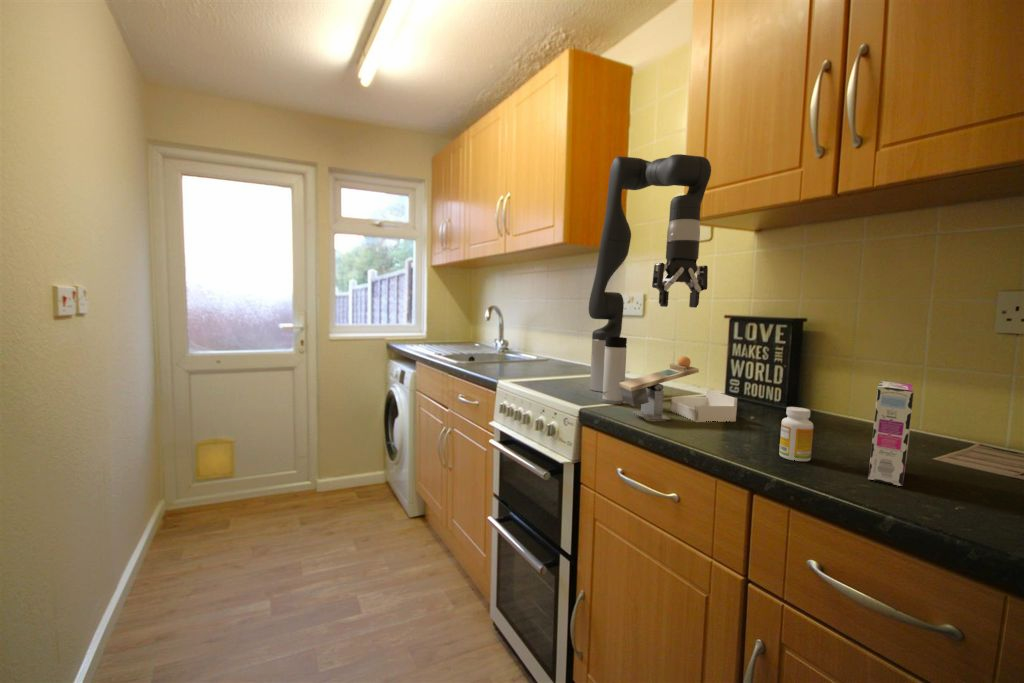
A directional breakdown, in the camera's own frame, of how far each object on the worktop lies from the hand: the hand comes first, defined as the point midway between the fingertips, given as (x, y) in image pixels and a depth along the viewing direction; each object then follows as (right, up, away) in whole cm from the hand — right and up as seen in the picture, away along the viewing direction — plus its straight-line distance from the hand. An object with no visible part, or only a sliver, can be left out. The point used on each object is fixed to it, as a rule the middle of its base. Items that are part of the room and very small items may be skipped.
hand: (678, 307), depth 117 cm
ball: (+4, -14, +8) cm, 16 cm away
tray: (+10, -29, +10) cm, 32 cm away
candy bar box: (+25, -33, -33) cm, 53 cm away
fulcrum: (-5, -28, +7) cm, 29 cm away
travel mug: (-11, -27, +24) cm, 38 cm away
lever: (-2, -22, +7) cm, 23 cm away
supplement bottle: (+14, -32, -24) cm, 42 cm away
